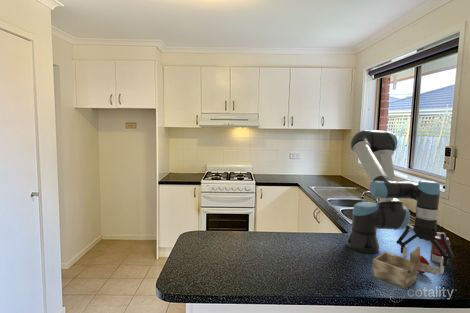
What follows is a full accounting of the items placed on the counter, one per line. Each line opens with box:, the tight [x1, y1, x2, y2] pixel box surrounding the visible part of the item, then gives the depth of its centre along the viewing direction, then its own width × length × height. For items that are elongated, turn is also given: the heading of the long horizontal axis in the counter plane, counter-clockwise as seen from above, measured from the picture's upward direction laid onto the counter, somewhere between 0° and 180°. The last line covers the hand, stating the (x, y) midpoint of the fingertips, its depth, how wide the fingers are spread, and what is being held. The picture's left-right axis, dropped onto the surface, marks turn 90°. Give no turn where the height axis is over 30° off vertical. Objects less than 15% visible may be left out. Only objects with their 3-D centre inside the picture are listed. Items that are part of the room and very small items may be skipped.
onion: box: [417, 254, 430, 275], centre depth 118 cm, size 6×6×8 cm
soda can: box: [429, 235, 451, 265], centre depth 130 cm, size 7×7×12 cm
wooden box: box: [371, 251, 419, 290], centre depth 114 cm, size 14×12×8 cm
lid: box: [409, 246, 440, 275], centre depth 106 cm, size 7×10×8 cm
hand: (422, 266), depth 118 cm, fingers open, 13 cm apart
